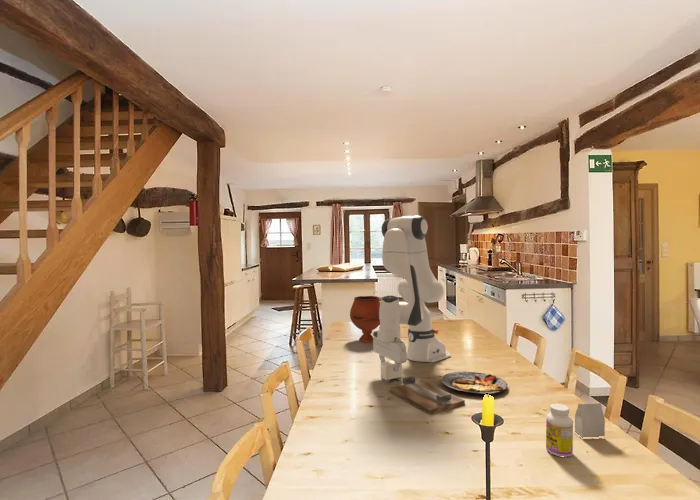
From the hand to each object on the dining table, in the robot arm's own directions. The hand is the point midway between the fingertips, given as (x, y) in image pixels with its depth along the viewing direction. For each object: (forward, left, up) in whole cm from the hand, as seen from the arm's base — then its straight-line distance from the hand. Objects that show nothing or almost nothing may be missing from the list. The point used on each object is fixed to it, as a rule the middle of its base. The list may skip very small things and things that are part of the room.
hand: (389, 368), depth 174 cm
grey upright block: (-24, +70, -5) cm, 74 cm away
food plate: (-25, +23, -6) cm, 34 cm away
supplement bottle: (-8, +71, -5) cm, 72 cm away
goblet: (-26, -60, -5) cm, 65 cm away
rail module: (-1, 0, -5) cm, 5 cm away
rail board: (-1, +22, -5) cm, 23 cm away
